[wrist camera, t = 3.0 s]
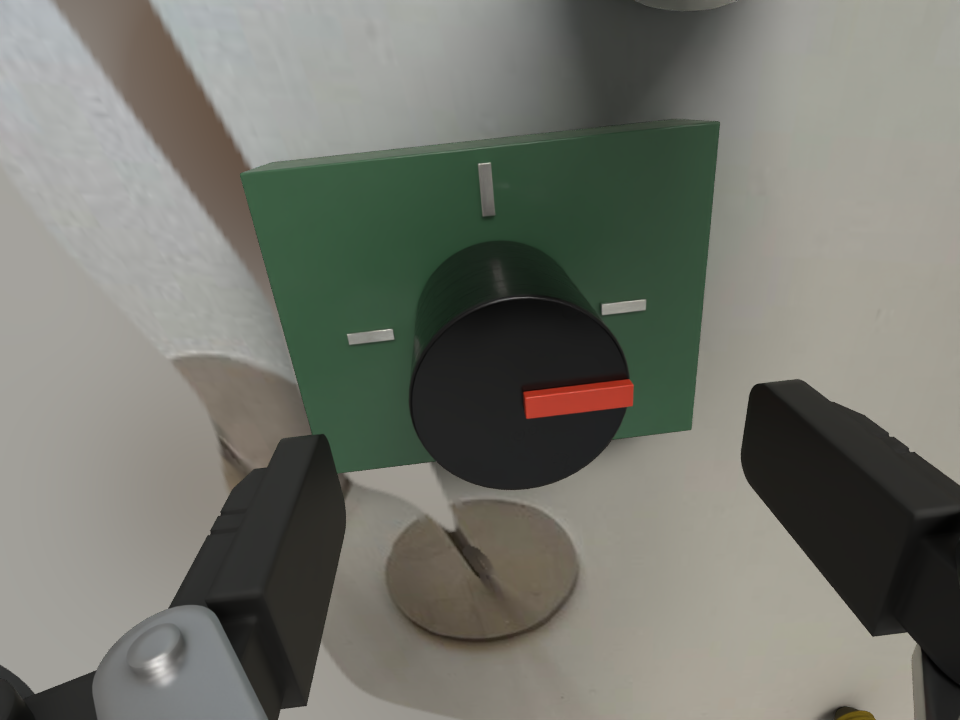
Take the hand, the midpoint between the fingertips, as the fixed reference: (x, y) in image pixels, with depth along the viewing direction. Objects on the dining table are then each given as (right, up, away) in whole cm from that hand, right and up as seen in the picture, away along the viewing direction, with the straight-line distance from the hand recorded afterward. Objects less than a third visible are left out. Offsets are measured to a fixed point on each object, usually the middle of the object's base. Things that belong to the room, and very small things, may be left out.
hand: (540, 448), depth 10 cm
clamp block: (-1, +4, +9) cm, 10 cm away
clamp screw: (-1, +3, +6) cm, 7 cm away
